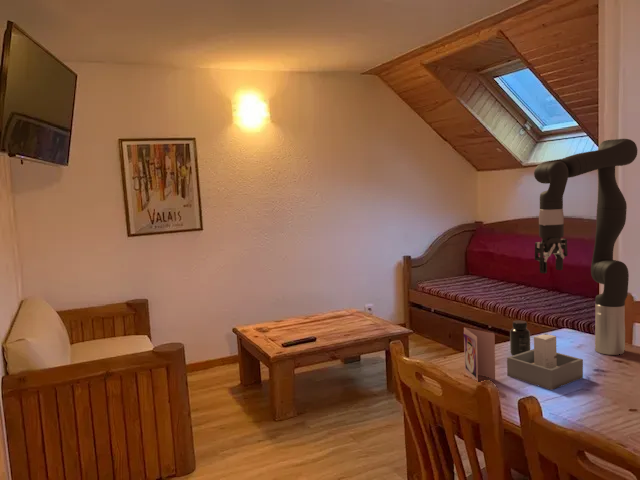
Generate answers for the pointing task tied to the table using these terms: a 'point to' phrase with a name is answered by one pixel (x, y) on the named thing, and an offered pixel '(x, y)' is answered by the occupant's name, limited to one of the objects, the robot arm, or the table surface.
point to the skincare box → (545, 351)
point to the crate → (545, 370)
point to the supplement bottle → (519, 337)
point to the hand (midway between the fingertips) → (551, 271)
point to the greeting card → (479, 353)
